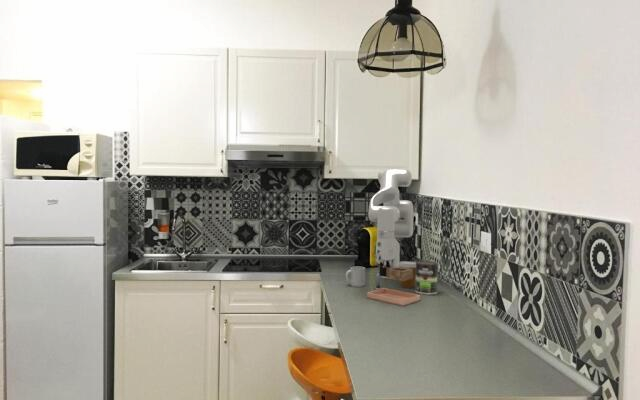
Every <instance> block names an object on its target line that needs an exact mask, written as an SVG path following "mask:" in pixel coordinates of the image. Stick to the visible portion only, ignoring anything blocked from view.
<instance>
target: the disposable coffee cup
mask: <svg viewBox="0 0 640 400" xmlns="http://www.w3.org/2000/svg"><path fill="white" fill-rule="evenodd" d="M416 262H417V261H412V260H411V261H408V260H407V261H406V260H404V261H402V260H401V261H399V264H398V266H399V268H406V269H412V270H413V279H409V280H405V281H400V285H401V286H400V287H402V288H405V289H407V288H408V289H411V288H414V287H415V283H416Z"/></svg>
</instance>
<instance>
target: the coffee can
mask: <svg viewBox="0 0 640 400" xmlns="http://www.w3.org/2000/svg"><path fill="white" fill-rule="evenodd" d="M415 262H416V275H415V284H414V287H415V289H414V291H415V294H416V293H417V294H418V295H428V296H429V295H437V294H438V268H439V267H438V266H439V263H438V262H436V261H431V260H417V261H415Z"/></svg>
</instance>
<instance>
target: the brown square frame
mask: <svg viewBox="0 0 640 400" xmlns="http://www.w3.org/2000/svg"><path fill="white" fill-rule="evenodd" d="M378 267H379V266H378ZM385 268H386V276H385V277H387V278H386V279H388V280H394V281H398V282H401V281H405V280H409V279H413V270H412V269H406V268H399V267H396V268H392V267H385ZM378 270H379V271H378V272H380V267H379V269H378ZM379 276H380V275H379ZM383 277H384V276H383Z"/></svg>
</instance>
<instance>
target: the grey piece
mask: <svg viewBox="0 0 640 400" xmlns="http://www.w3.org/2000/svg"><path fill="white" fill-rule="evenodd" d="M375 273H376V275H375V286H374V287H373V290H378V289H382V288H383V287H381V279H382V277H381V276H379V271H375Z"/></svg>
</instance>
